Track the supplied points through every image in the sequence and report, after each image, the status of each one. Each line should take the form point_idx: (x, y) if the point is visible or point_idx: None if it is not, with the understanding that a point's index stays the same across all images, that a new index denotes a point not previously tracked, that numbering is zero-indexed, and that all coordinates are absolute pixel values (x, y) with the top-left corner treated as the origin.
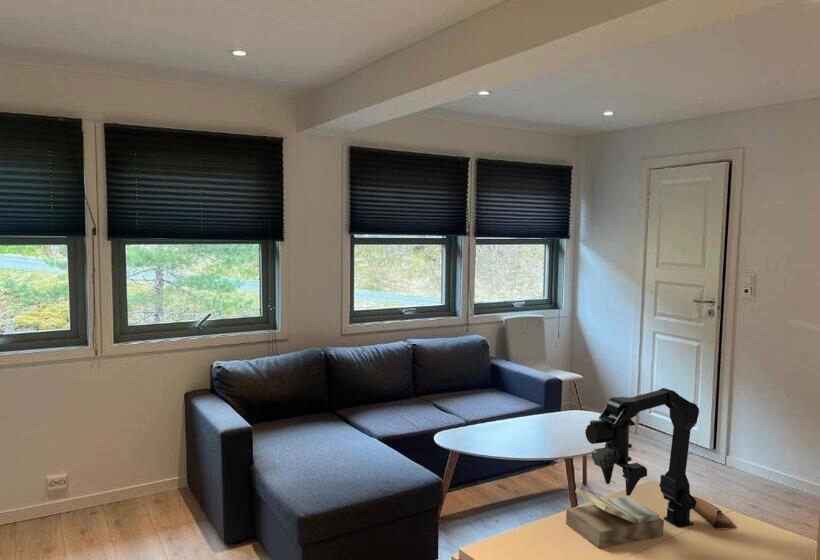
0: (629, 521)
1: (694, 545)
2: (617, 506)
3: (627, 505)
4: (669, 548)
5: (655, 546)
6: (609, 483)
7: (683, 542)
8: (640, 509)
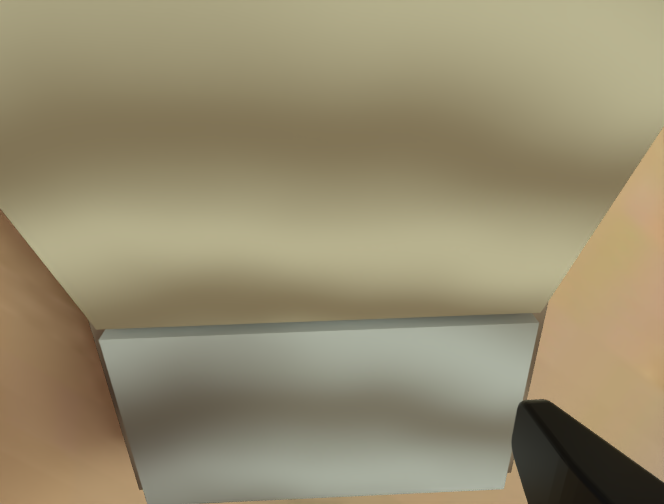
0: None
1: (52, 472)
2: (377, 318)
3: (362, 403)
4: (22, 349)
5: (51, 292)
6: (512, 449)
7: (88, 448)
8: (262, 446)
